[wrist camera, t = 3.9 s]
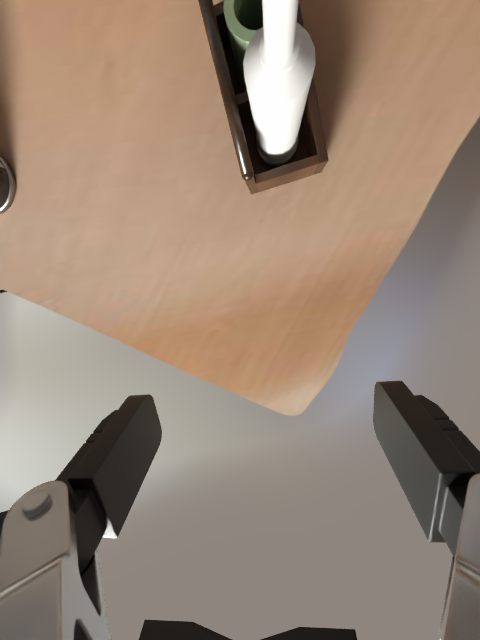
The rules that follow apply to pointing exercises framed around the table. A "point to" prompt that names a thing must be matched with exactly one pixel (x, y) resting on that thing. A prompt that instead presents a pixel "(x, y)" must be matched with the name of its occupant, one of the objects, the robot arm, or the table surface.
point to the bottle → (278, 79)
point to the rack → (242, 113)
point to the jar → (242, 29)
